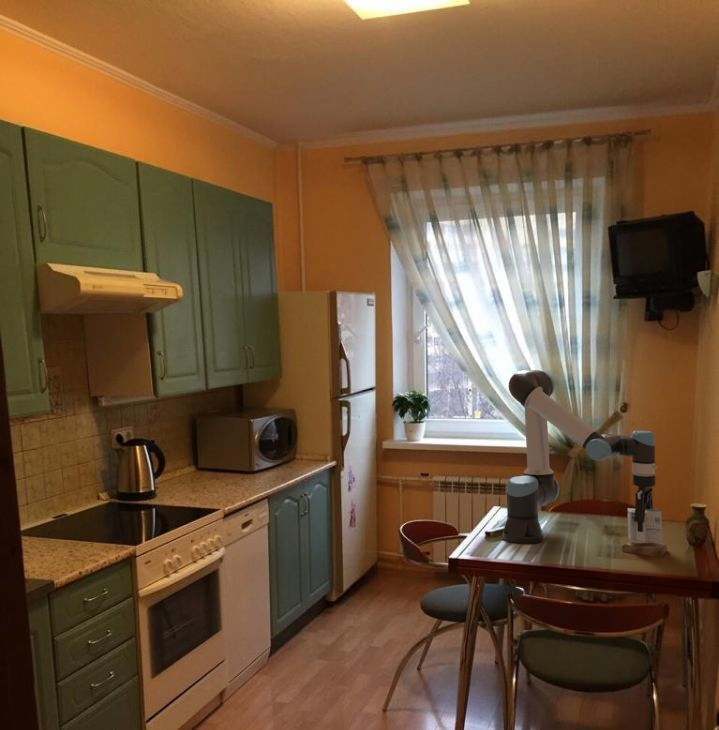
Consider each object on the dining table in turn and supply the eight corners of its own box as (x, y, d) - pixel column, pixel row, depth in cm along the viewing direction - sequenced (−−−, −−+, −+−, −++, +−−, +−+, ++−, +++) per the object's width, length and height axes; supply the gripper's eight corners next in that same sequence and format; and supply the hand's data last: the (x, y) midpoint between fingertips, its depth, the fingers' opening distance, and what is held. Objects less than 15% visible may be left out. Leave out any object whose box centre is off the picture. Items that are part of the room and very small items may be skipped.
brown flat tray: (622, 551, 237) (622, 544, 237) (629, 545, 244) (629, 538, 244) (661, 557, 229) (661, 550, 229) (667, 551, 236) (667, 544, 236)
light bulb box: (658, 538, 239) (658, 508, 239) (662, 543, 232) (662, 512, 232) (627, 537, 241) (626, 507, 241) (630, 541, 234) (630, 511, 234)
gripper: (647, 479, 226) (647, 546, 226) (662, 471, 243) (662, 532, 243) (624, 477, 230) (624, 542, 230) (640, 469, 247) (641, 529, 247)
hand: (644, 537), depth 237 cm, fingers closed on light bulb box, 9 cm apart
